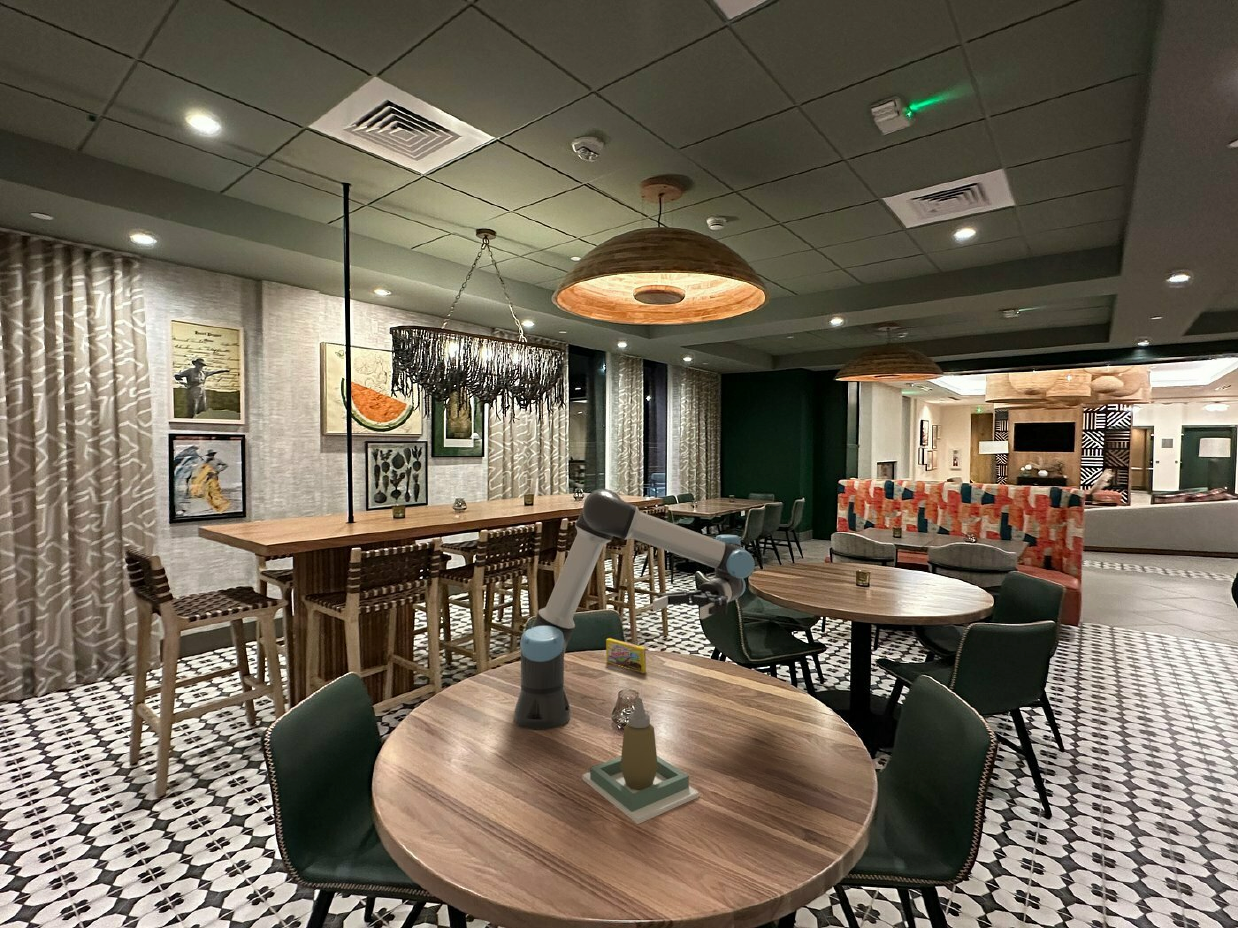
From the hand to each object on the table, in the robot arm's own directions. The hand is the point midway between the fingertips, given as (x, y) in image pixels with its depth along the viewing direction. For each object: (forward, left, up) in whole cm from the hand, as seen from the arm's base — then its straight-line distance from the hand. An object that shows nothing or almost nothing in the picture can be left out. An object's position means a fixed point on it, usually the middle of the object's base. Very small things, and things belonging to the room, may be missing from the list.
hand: (676, 609), depth 153 cm
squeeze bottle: (+14, -23, -31) cm, 41 cm away
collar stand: (+14, -23, -32) cm, 42 cm away
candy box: (-48, +19, -32) cm, 61 cm away
